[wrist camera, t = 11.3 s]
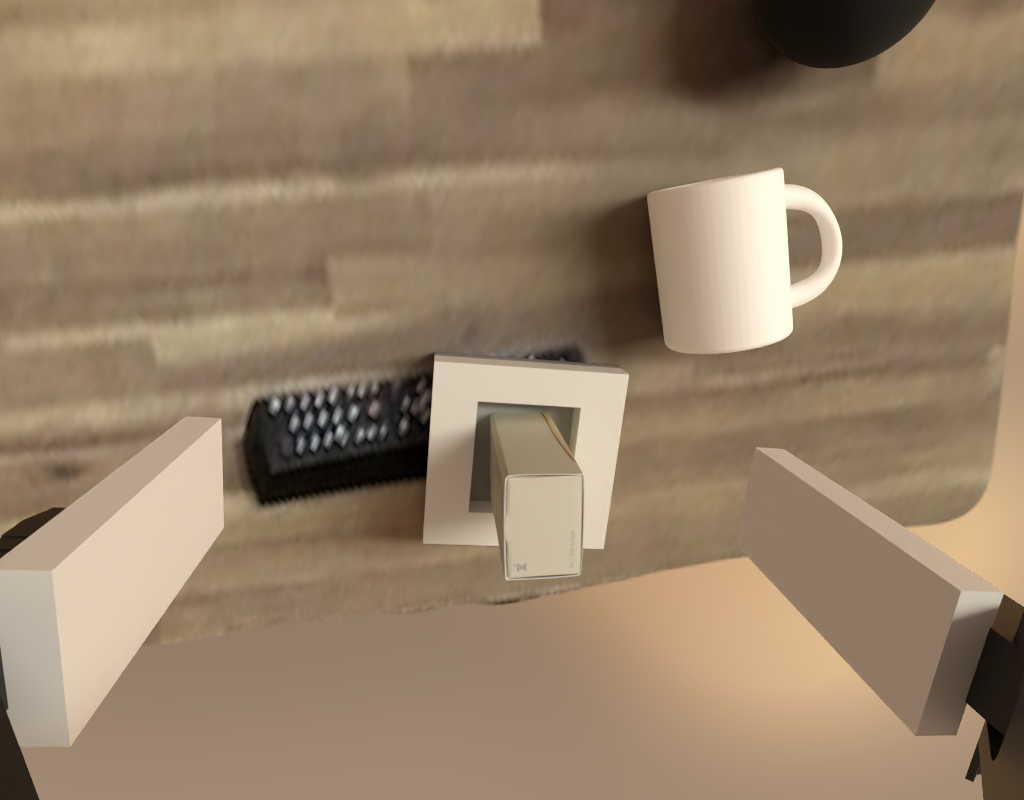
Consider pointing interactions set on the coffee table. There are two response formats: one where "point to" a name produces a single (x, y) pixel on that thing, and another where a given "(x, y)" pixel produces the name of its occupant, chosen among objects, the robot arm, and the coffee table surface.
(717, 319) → the mug
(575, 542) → the skincare box
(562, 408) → the socket block
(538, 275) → the coffee table surface
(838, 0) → the decorative ball
